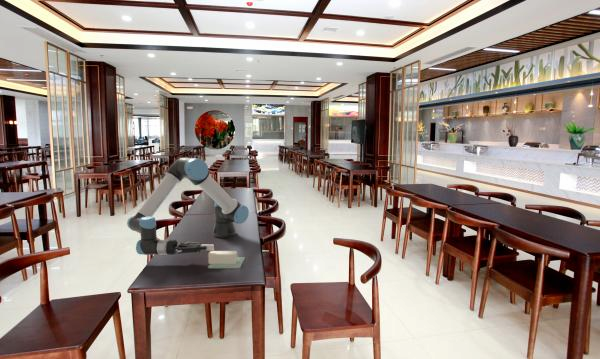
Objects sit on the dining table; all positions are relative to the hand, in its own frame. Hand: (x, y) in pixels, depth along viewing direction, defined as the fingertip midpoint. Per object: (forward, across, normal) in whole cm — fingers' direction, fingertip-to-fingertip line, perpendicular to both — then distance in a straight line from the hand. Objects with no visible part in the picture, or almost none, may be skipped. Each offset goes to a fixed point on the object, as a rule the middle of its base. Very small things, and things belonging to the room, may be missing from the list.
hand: (213, 247), depth 178 cm
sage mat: (+7, 0, -8) cm, 11 cm away
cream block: (-2, 0, -5) cm, 6 cm away
